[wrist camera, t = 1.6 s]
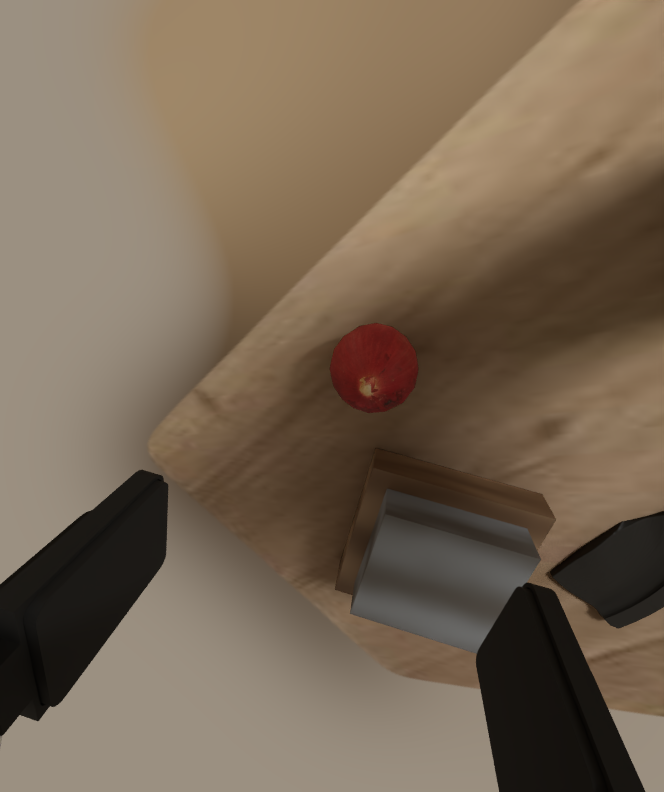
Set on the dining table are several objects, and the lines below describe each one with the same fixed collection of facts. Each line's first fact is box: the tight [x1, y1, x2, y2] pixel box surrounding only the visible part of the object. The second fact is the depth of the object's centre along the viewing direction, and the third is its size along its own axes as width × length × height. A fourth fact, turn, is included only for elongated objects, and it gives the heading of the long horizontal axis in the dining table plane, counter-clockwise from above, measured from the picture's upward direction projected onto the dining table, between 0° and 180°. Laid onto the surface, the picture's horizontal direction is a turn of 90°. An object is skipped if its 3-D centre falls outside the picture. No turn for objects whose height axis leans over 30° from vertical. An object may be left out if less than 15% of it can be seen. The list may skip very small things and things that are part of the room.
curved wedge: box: [550, 512, 664, 628], centre depth 30 cm, size 8×14×2 cm, turn 145°
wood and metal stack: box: [335, 448, 556, 654], centre depth 31 cm, size 14×14×6 cm
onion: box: [330, 323, 418, 413], centre depth 24 cm, size 6×6×8 cm
